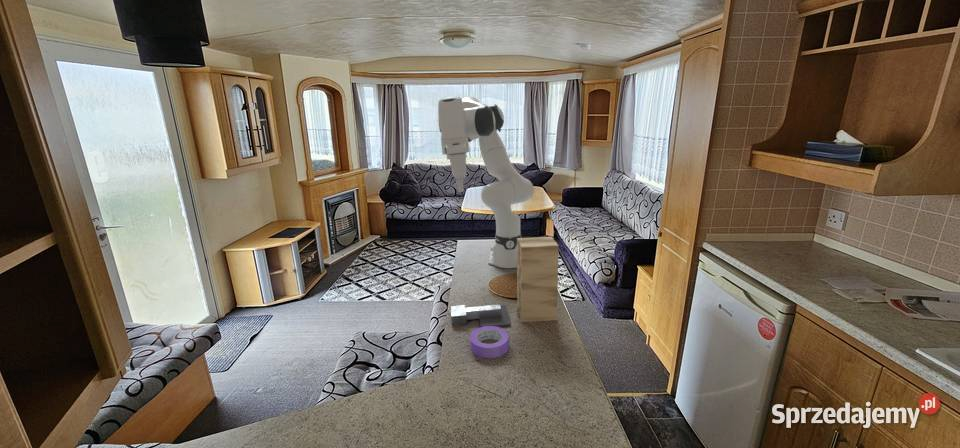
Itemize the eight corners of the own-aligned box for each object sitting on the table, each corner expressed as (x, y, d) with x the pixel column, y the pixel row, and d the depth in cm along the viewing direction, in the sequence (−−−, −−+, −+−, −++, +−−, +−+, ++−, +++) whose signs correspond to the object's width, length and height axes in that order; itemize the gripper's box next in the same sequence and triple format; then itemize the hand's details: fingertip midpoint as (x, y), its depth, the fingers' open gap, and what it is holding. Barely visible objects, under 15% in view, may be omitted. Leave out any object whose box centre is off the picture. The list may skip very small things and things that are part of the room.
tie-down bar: (499, 301, 138) (499, 310, 139) (451, 306, 137) (452, 315, 138) (501, 311, 131) (502, 320, 132) (451, 316, 130) (452, 325, 131)
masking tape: (480, 363, 112) (480, 351, 111) (464, 342, 122) (464, 331, 121) (515, 352, 116) (515, 340, 115) (497, 332, 127) (497, 322, 126)
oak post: (517, 309, 140) (517, 238, 133) (549, 307, 141) (551, 236, 133) (521, 322, 132) (521, 247, 124) (556, 320, 133) (558, 245, 125)
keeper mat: (478, 308, 142) (478, 306, 141) (505, 307, 142) (505, 305, 142) (480, 328, 129) (480, 325, 129) (510, 326, 130) (510, 324, 129)
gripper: (445, 149, 137) (450, 188, 139) (446, 148, 117) (451, 194, 119) (463, 147, 137) (467, 186, 140) (467, 146, 117) (472, 192, 120)
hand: (460, 190), depth 129 cm, fingers open, 8 cm apart
